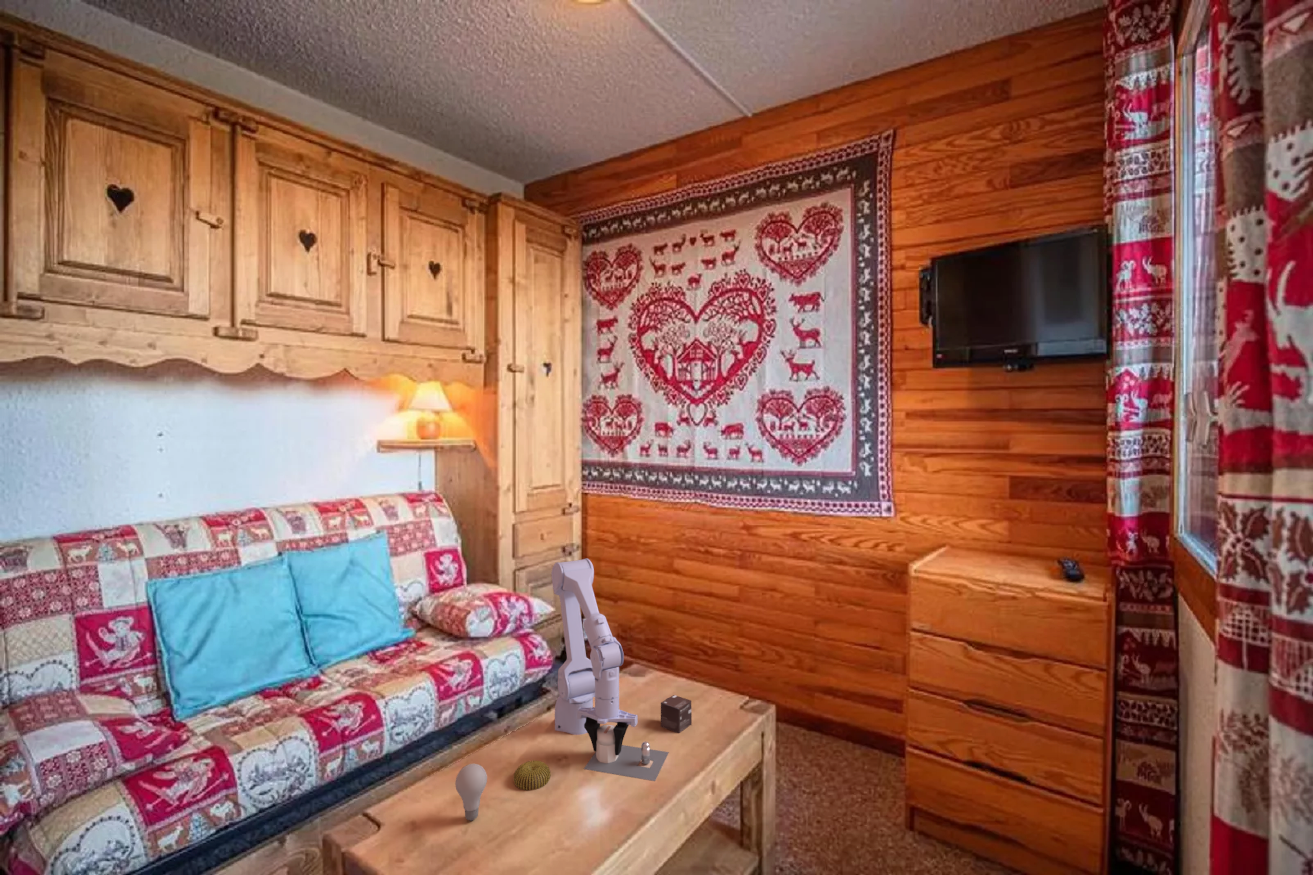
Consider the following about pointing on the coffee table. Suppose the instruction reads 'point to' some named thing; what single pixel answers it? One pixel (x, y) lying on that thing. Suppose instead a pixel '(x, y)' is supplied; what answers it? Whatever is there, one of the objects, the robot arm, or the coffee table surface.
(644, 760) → the post
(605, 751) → the knob
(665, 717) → the box
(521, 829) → the coffee table surface
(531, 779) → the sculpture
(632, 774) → the board
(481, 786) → the lightbulb
